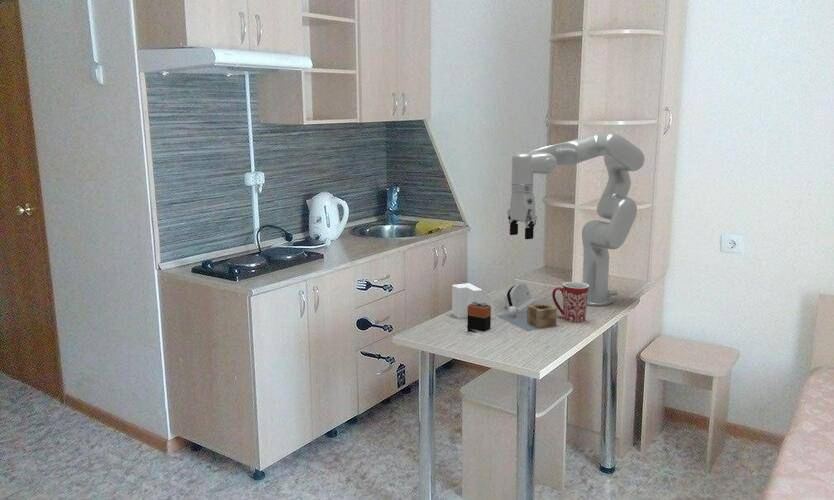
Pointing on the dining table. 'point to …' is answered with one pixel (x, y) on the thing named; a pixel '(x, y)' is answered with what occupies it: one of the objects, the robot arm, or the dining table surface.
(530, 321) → the brown wooden hollow block
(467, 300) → the corner bracket
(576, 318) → the mug
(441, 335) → the dining table surface
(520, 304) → the grey electronic device
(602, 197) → the robot arm
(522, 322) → the peg stand
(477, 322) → the battery
